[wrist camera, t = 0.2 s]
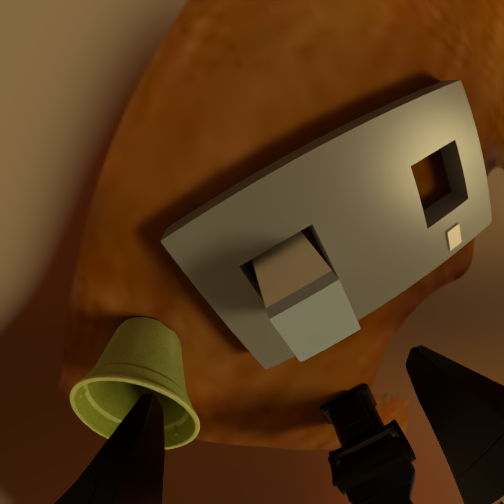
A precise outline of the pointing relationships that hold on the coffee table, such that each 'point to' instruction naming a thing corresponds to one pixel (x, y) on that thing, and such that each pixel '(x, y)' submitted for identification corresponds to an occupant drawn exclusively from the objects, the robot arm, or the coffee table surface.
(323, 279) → the plug
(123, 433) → the robot arm
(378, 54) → the coffee table surface
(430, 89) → the panel board
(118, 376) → the plant pot
